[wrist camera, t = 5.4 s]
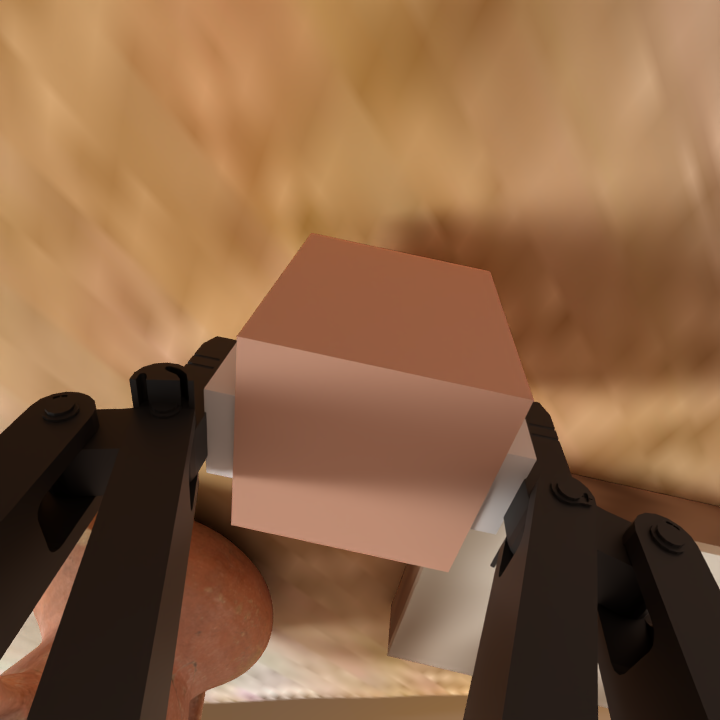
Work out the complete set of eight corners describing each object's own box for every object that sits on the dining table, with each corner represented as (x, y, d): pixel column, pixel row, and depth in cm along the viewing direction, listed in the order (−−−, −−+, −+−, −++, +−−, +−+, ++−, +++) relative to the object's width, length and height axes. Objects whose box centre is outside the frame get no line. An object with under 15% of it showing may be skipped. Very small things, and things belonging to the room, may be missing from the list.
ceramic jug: (20, 460, 27) (-319, 774, 15) (249, 464, 24) (60, 856, 12) (137, 625, 36) (-12, 898, 24) (311, 642, 33) (240, 960, 21)
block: (294, 378, 18) (231, 525, 12) (311, 232, 15) (236, 335, 9) (440, 410, 18) (448, 572, 12) (490, 271, 15) (533, 400, 9)
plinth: (391, 605, 29) (387, 655, 26) (451, 447, 21) (453, 495, 19) (607, 656, 28) (625, 712, 26) (746, 512, 21) (788, 571, 18)
